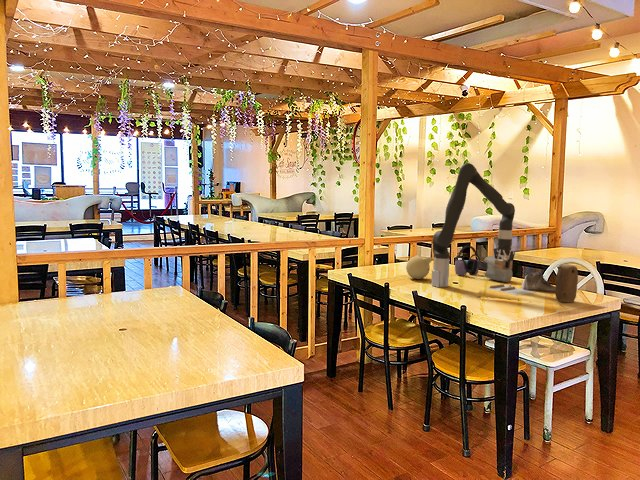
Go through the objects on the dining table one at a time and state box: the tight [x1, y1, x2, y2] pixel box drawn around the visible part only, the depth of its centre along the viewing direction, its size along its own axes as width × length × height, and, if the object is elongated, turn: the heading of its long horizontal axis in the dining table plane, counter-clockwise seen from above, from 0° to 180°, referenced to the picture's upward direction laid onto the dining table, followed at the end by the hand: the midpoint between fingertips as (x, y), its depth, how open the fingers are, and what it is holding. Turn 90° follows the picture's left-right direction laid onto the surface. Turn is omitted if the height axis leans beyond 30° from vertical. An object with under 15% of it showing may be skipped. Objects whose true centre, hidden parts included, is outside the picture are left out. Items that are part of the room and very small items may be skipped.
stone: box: [554, 263, 579, 303], centre depth 276 cm, size 12×7×20 cm, turn 122°
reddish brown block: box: [494, 258, 514, 270], centre depth 300 cm, size 9×5×5 cm, turn 120°
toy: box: [405, 253, 433, 280], centre depth 336 cm, size 17×15×15 cm
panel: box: [486, 283, 537, 296], centre depth 298 cm, size 16×22×4 cm
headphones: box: [454, 245, 481, 277], centre depth 353 cm, size 9×17×20 cm, turn 120°
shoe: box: [521, 271, 556, 294], centre depth 297 cm, size 25×11×12 cm, turn 54°
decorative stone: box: [483, 255, 513, 283], centre depth 334 cm, size 12×17×15 cm
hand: (503, 267), depth 301 cm, fingers closed on reddish brown block, 5 cm apart
